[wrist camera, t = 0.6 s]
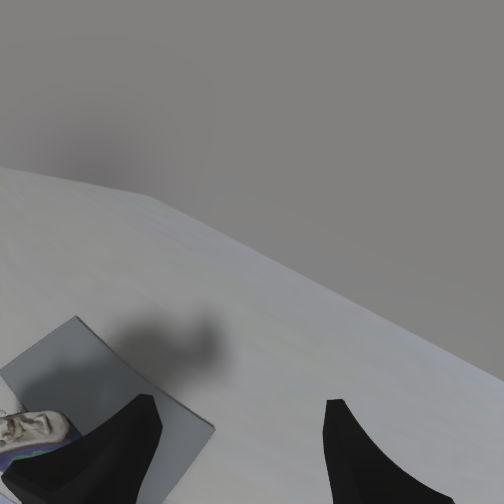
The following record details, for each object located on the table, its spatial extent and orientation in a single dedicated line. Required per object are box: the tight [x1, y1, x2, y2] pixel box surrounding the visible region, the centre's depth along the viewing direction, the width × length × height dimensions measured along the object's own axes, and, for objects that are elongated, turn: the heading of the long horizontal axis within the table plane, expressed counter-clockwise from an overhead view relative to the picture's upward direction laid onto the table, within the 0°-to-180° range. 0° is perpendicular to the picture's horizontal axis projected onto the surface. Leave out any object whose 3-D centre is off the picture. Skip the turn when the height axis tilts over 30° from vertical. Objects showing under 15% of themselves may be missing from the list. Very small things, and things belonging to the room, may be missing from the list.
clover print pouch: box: [0, 410, 83, 473], centre depth 14 cm, size 9×3×11 cm, turn 130°
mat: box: [0, 316, 216, 504], centre depth 23 cm, size 12×20×1 cm, turn 64°
